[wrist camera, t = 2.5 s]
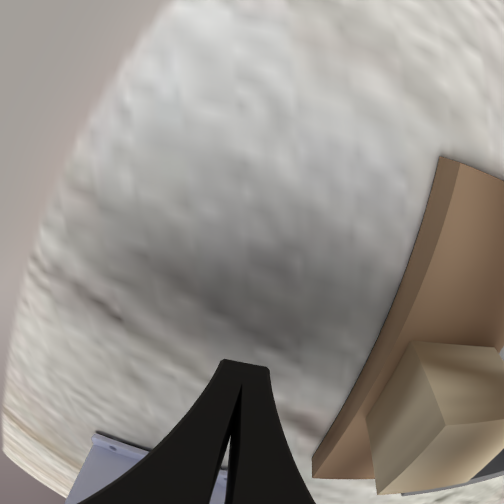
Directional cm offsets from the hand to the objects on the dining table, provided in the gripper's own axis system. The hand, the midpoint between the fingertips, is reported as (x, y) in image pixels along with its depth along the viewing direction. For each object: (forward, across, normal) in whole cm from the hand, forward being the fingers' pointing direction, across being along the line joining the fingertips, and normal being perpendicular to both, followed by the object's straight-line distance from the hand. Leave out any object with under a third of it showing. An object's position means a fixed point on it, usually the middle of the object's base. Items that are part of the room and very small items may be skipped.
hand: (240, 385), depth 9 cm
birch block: (+1, -7, 0) cm, 7 cm away
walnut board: (+2, -7, 0) cm, 7 cm away
